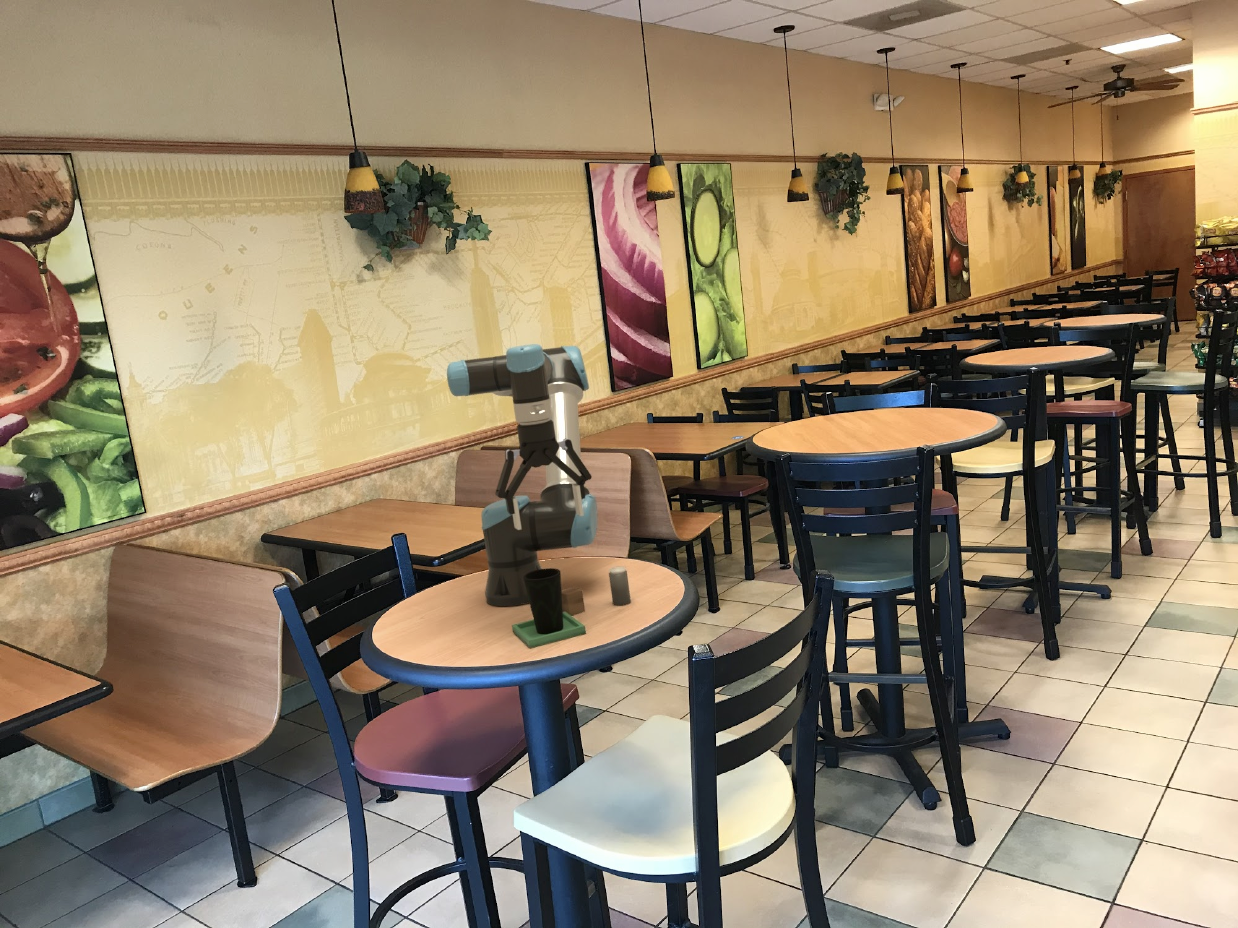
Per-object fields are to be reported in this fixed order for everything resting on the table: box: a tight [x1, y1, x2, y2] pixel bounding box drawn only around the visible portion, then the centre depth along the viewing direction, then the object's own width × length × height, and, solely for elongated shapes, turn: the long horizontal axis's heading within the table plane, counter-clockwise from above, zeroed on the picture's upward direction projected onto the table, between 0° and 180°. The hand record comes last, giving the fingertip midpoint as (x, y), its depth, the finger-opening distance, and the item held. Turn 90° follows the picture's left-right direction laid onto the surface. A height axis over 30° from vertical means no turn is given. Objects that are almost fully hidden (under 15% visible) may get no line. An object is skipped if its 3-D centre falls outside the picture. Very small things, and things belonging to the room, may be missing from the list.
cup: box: [523, 567, 563, 635], centre depth 192 cm, size 8×8×12 cm
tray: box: [511, 612, 587, 649], centre depth 193 cm, size 12×12×2 cm
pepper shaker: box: [608, 566, 632, 607], centre depth 206 cm, size 4×4×8 cm
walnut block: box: [561, 586, 586, 617], centre depth 204 cm, size 4×4×5 cm
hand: (549, 521), depth 195 cm, fingers open, 13 cm apart
